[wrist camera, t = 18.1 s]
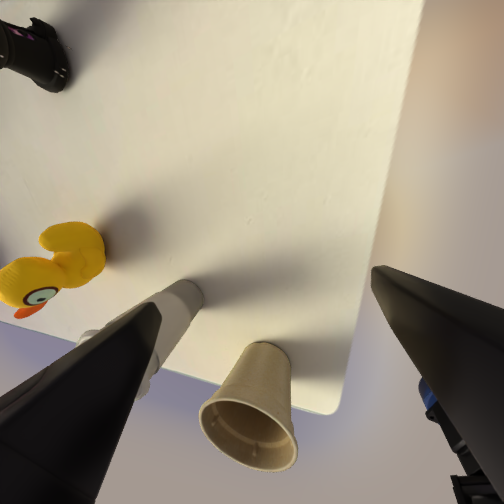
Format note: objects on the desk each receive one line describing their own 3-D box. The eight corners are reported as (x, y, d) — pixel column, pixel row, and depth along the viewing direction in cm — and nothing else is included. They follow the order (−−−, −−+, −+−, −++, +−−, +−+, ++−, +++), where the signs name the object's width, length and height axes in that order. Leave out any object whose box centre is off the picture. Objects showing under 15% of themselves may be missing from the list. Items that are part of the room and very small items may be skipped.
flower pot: (230, 322, 26) (192, 386, 18) (307, 338, 23) (302, 421, 16) (233, 376, 29) (202, 449, 22) (301, 395, 27) (293, 486, 19)
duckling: (107, 291, 31) (21, 340, 22) (79, 272, 31) (-17, 312, 22) (121, 230, 26) (17, 261, 17) (87, 207, 26) (-33, 225, 17)
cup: (221, 311, 26) (152, 410, 15) (184, 324, 28) (104, 416, 18) (190, 262, 24) (90, 333, 14) (155, 281, 27) (49, 352, 16)
